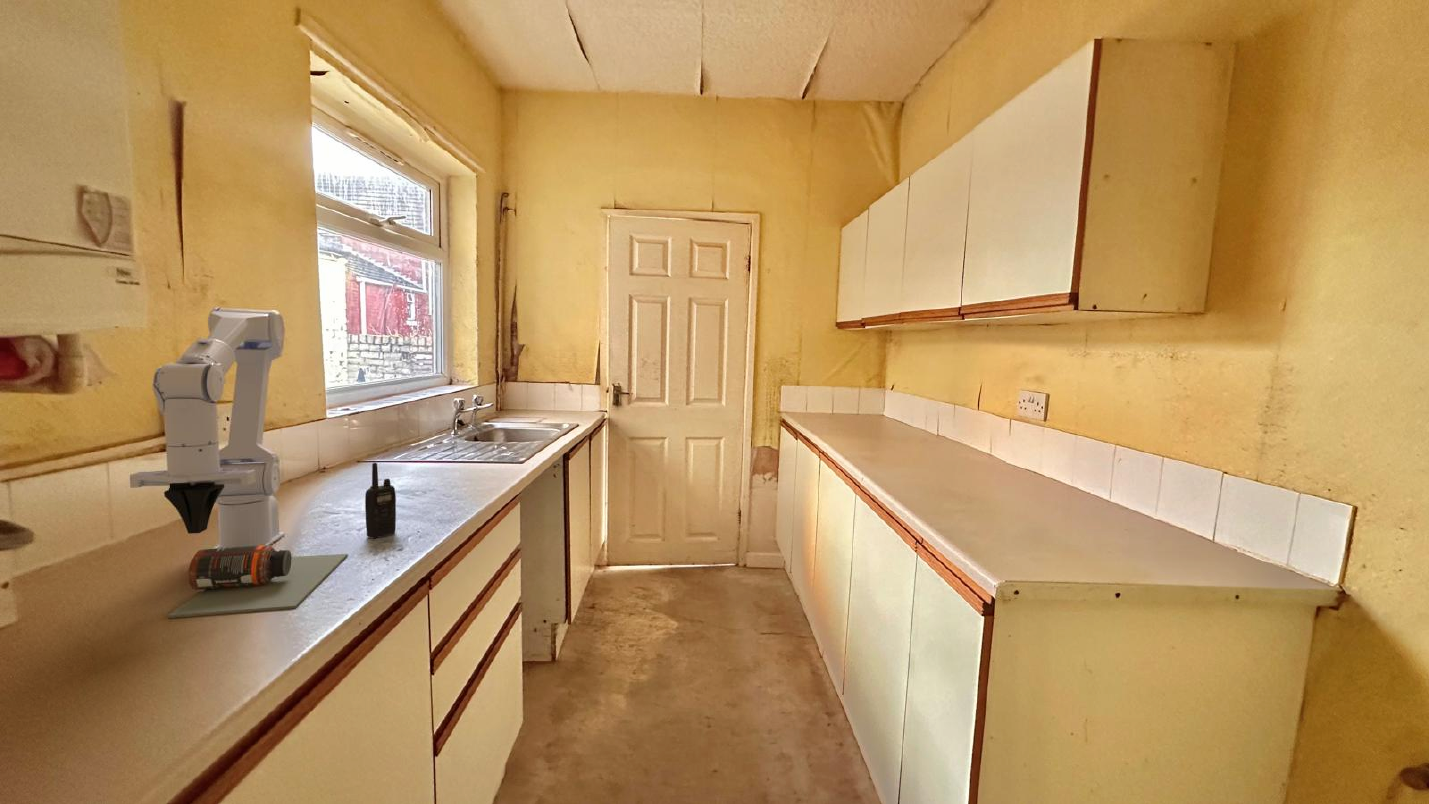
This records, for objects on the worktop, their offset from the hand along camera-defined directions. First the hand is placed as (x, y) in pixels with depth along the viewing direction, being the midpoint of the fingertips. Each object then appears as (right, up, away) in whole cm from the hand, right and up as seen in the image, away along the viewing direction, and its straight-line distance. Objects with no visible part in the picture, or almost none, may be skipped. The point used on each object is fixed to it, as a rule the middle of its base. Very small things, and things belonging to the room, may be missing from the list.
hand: (197, 531), depth 83 cm
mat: (+8, -9, +3) cm, 13 cm away
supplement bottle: (+1, -6, -1) cm, 6 cm away
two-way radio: (+12, -7, +26) cm, 29 cm away
